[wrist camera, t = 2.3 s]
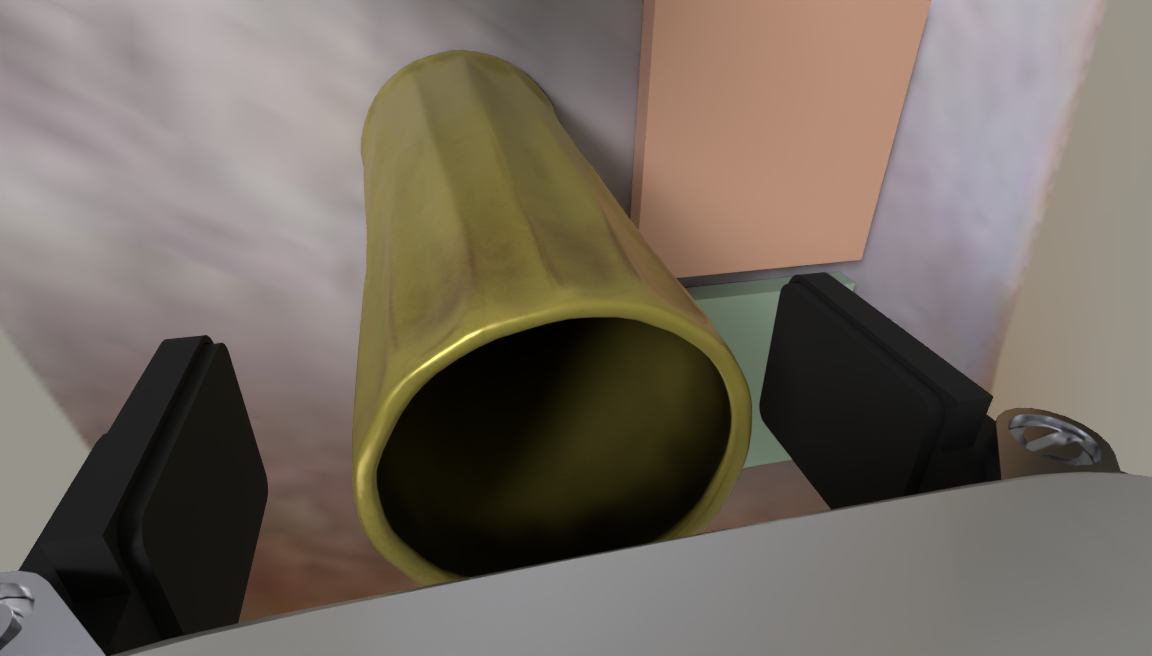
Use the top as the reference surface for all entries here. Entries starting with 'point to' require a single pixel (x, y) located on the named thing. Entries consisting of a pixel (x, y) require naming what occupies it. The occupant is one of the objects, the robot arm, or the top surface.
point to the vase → (522, 343)
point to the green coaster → (750, 343)
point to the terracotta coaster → (767, 127)
